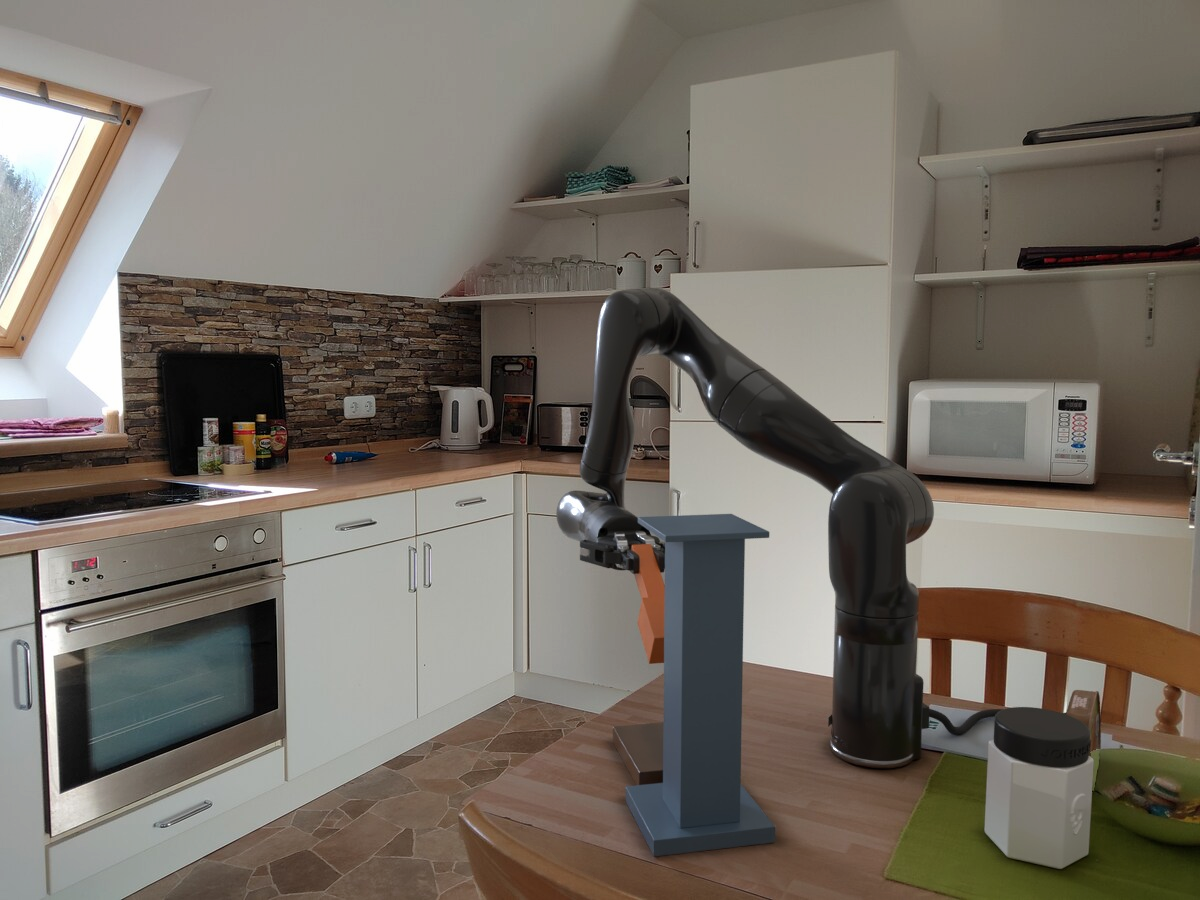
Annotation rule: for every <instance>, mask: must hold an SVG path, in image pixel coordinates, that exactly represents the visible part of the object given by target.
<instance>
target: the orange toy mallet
mask: <svg viewBox="0 0 1200 900" xmlns="http://www.w3.org/2000/svg"><path fill="white" fill-rule="evenodd" d="M631 549H632V550H633V551H634V552H635V553H637V554H638V555H639V558H640V569H639V574H633V575H634V579H635V582H636V585H637V589H638V592H639V596H640V598H641V599H640V600H641V602H640V606H639V613H638V617H637V627H638V630H639V634H640V637H641V641H642V645H643V647H644V651H645V654H646V658H647V661H648V664H649V665H652V664H664V609H665V581H664V579H663V576H662V573H660V570H659V567H658V564H657V561H656V558H655V555H654V552H653V549H652V546H651V544H638V545H632V548H631Z"/></svg>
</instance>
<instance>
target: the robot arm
mask: <svg viewBox="0 0 1200 900" xmlns="http://www.w3.org/2000/svg"><path fill="white" fill-rule="evenodd" d="M596 326H597V327H596V335H595V336H596V337H595V338H596V340H595V354H594V355H595V356H594V369H593V388H592V404H591V412H590V418H589V424H588V429H587V434H586V438H585V441H584V446H583V451H582V455H581V459H580V463H579V475H580V478H581V480H583V481H584V482H585V483H586V484H588V485H590V486H591V487H594V488H597V489H600V490H602V491H604V492H605V493H602V492H601V493H600V492H594V491H585V490H570V491H568V492H566V493H565V494H564V495H563V496H562V497H561V498H560V500H559V501H558V503H557V506H556V523H557V525H558V528H559V529H560V532H561V533H562V534H563V535H564V536H566V537H567V538H569V539H572V540H574V541H577V542H579V561H582V562H584V563H588V564H592V565H596V566H599V567H601V568H606V569H612V570H615V571H629V572H630V573H631V574H633V575H634V574H639V569H640V558H639V555H638V554H637V553H635V552H634V551H633V550H632V549H631V548H632V545H638V544H651V546H652V549H653V552H654V555H655V558H656V561H657V564H658V567H659V570H660V573H661V574H663V573H665V541H661V539H660V538H659V537H658V536H656V535H652V534H651V532H650V531H649V530H648V529H646V528H645V527H643V526H642V525H640V524H639V523H638V517H639V516H636V515H635V514H634V513H632V512H631V511H629V510H628V509H626V497H625V496H626V478H627V473H628V469H629V465H630V461H631V458H632V454H633V449H634V445H635V439H636V425H635V420H634V414H633V412H632V408H631V403H630V399H629V383H630V377H631V374H632V371H633V368H634V366H635V362H636V361H637V358H638V357H645V356H652V355H657V356H661V357H663V358H665V359H667V360H668V361H670V362H671V363H673V364H674V365H675V366H677V367H678V368H680V369H681V370H682V371H683V372H685V373H686V374H687V375H688V376H689V377H690V378H691V379H692V381H693V382H694V384H695V386H696V388H697V391H698V393H699V397H700V399H701V402H702V404H703V406H704V408H705V410H706V412H707V414H708V415H709V416H710V418H711V419H712V420H713V421H714V422H715V423H716V425H718V426H719V427H720V428H722V430H724V431H725V432H726V433H728V435H730V436H731V437H732V438H733V439H735V440H736V441H737V442H738V443H740V444H741V445H742V446H744V447H745V448H747V449H748V450H750V451H751V452H753V453H755V454H756V455H759V456H760V457H762V458H764V459H767V460H768V461H771V462H773V463H775V464H777V465H780V466H781V467H785V468H786V469H789V470H791V471H794V472H796V473H798V474H800V475H803V476H805V477H807V478H808V479H810V480H812V481H813V482H815V483H817V484H818V485H820V486H821V487H823V488H824V489H825V490H827V491H828V492H829V493H830V494H831V499H830V503H829V506H828V507H829V508H828V516H827V517H828V518H827V542H828V544H827V547H828V575H829V576H828V577H829V580H830V581H829V582H830V584H831V587H832V589H833V592H834V624H833V625H834V626H833V627H834V628H833V629H834V630H833V631H834V632H833V664H832V665H833V666H832V667H833V668H832V669H833V670H832V698H831V699H832V701H831V702H832V703H831V706H832V707H831V708H832V709H831V714H830V715H829V716H828V718H827V719H828V721H827V722H828V723H827V726H828V728H829V727H830V726H831V729H830V736H831V737H830V741H829V742H830V743H829V748H830V751H831V752H832V753H833V754H834V755H835V756H836V757H837V758H839V759H841V760H843V761H845V762H847V763H850V764H852V765H857V766H861V767H866V768H872V769H893V768H894V769H895V768H900V767H903V766H906V765H909V764H911V763H912V761H913V760H920V759H921V758H922V737H923V736H922V734H923V730H925V729H929V728H930V718H931V719H934V720H937V721H939V722H940V723H941V724H942V725H943V727H944V728H945V729H946V730H947V732H948V733H949V734H951V735H955V736H961V735H964V734H966V733H967V732H968V731H969V730H970V729H971V728H972V727H973V726H974V725H975V724H977V722H979V721H981V720H983V719H989V718H995V715H996V714H997V713H998V712H999V711H1001V710H1003V709H1004V708H990V709H984V710H980V711H977V712H975V713H973V714H972V715H971V716H969V717H968V718H967V719H966V720H965V721H964V722H963V723H962V724H960V726H955V725H954V724H953V723H952V722H951V720H950V719H949V717H948V716H947V715H945V714H944V713H942V712H941V711H939V710H935V709H932V708H931V707H930V706H929V705H927V704H925V702H924V684H925V683H924V679H923V677H922V676H920V675H919V674H917V664H918V663H917V662H918V661H917V660H918V636H919V635H918V634H919V633H918V632H919V610H920V593H919V589H918V587H917V586H916V585H915V584H914V583H913V582H911V581H909V579H908V575H907V545H908V544H909V545H910V544H911V543H913V542H915V541H916V540H919V539H920V538H921V537H922V536H924V535H925V534H926V533H927V532H928V531H929V530H930V528H931V526H932V524H933V521H934V515H935V507H934V502H933V497H932V496H931V494H930V491H929V490H928V488H927V486H926V484H925V483H923V481H921V479H920V478H919V477H918V476H916V475H915V474H914V473H913V472H911V471H909V470H908V469H906V468H904V467H903V466H902V465H900V464H897V463H896V462H894V461H893V460H891V459H890V458H887V457H886V456H884V455H883V454H881V453H879V452H877V451H876V450H874V449H873V448H871V447H869V446H867V445H866V444H864V443H863V442H861V441H859V440H857V438H854V437H853V436H852V435H850V434H849V433H847V432H846V431H845V430H844V429H842V428H841V427H840V426H839V425H837V424H836V423H835V422H834V421H833V420H831V419H830V418H829V417H828V416H827V415H825V414H823V413H822V412H821V411H820V410H819V409H818V408H816V407H815V406H813V405H812V404H811V403H810V402H808V401H807V400H806V399H804V398H803V397H802V396H800V394H798V393H797V392H795V391H794V390H793V389H792V388H791V387H789V386H788V385H787V384H786V383H784V382H783V381H782V380H780V379H779V378H778V377H776V376H775V375H774V374H772V373H771V372H769V371H768V370H767V369H765V368H764V367H763V366H761V365H760V364H758V363H757V362H755V361H753V360H752V359H751V358H750V357H749V356H747V355H746V354H744V353H743V352H741V351H740V350H739V349H738V348H737V347H735V346H734V345H733V344H731V343H730V342H728V341H727V340H725V339H724V338H723V337H721V336H720V335H718V334H717V333H716V332H715V331H714V330H713V329H712V328H711V327H709V326H708V325H707V324H706V323H705V322H704V321H703V320H702V319H701V318H700V317H699V316H698V315H697V314H696V313H695V312H694V311H693V310H692V309H690V308H689V306H687V305H686V304H685V303H684V302H683V301H682V299H680V298H679V297H677V296H676V295H675V294H674V293H672V292H670V291H669V290H666V289H663V288H660V287H643V288H628V289H627V288H626V289H622V290H617V291H614V292H612V293H611V294H609V295H608V297H606V299H604V301H603V303H602V305H601V308H600V310H599V315H598V319H597V325H596ZM1062 713H1063V714H1066V712H1062Z"/></svg>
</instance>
